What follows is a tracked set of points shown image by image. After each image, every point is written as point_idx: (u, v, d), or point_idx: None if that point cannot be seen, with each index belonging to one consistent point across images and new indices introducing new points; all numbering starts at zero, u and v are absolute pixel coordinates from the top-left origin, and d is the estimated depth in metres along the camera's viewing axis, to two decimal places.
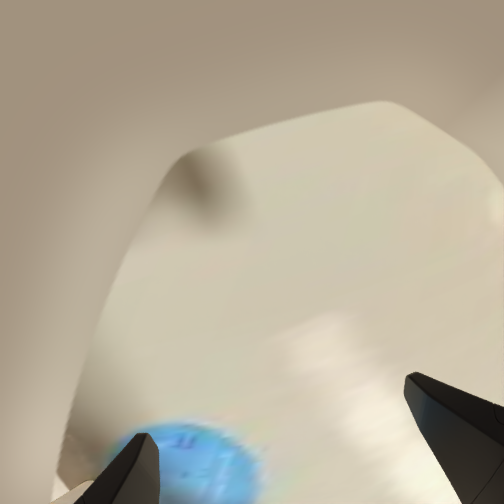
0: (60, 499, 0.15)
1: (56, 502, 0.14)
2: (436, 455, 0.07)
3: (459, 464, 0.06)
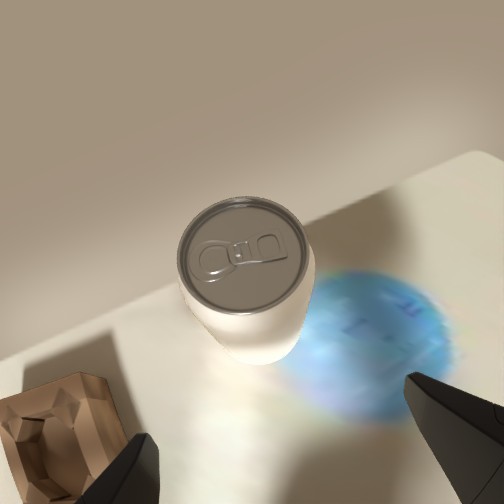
0: None
1: None
2: (436, 455, 0.07)
3: (459, 464, 0.06)
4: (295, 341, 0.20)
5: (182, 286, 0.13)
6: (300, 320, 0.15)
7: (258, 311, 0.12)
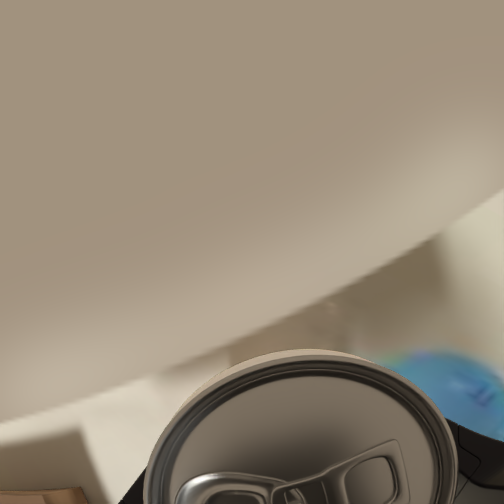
0: None
1: None
2: None
3: None
4: None
5: None
6: None
7: None
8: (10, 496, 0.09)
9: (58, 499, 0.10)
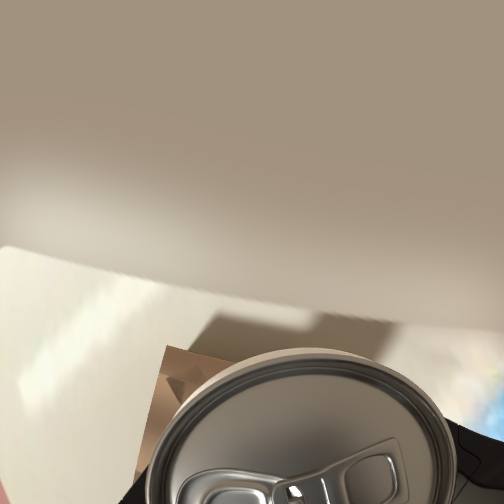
0: None
1: None
2: None
3: None
4: None
5: None
6: None
7: None
8: None
9: None
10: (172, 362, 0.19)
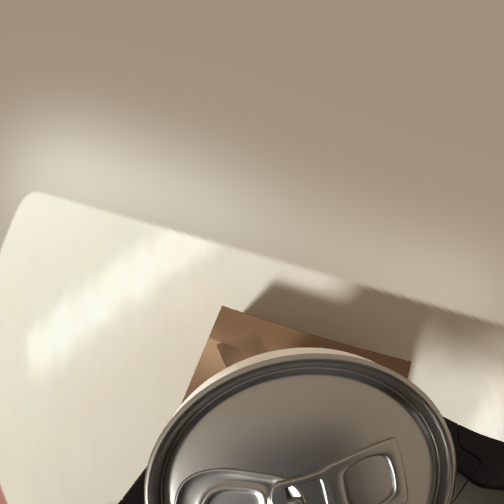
0: None
1: None
2: None
3: None
4: None
5: None
6: None
7: None
8: (358, 349, 0.16)
9: None
10: (227, 326, 0.17)
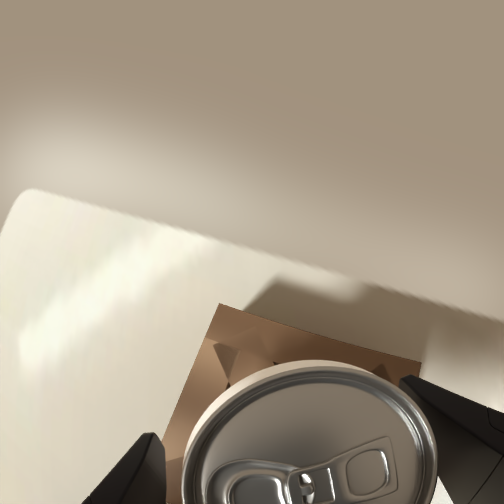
0: None
1: None
2: None
3: (452, 468, 0.06)
4: None
5: None
6: None
7: None
8: (366, 350, 0.14)
9: None
10: (224, 325, 0.16)
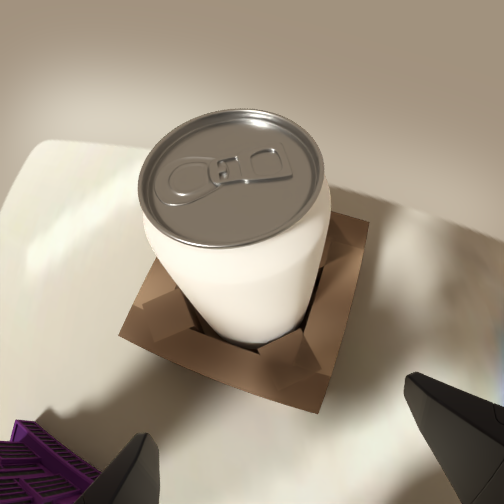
0: None
1: None
2: (436, 455, 0.07)
3: (459, 464, 0.06)
4: (299, 319, 0.16)
5: (144, 217, 0.09)
6: (308, 281, 0.11)
7: (244, 243, 0.08)
8: None
9: None
10: None
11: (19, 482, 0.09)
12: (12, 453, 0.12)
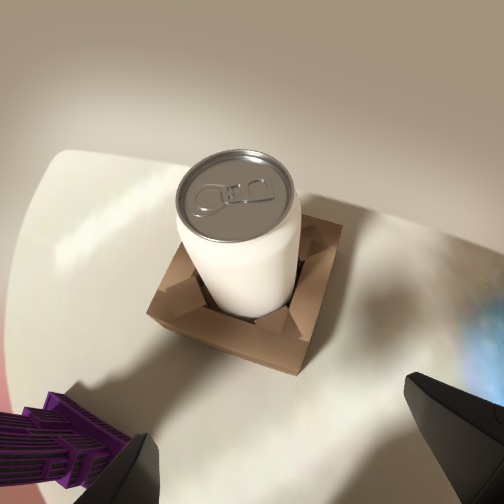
0: None
1: None
2: (436, 455, 0.07)
3: (459, 464, 0.06)
4: (286, 299, 0.21)
5: (179, 223, 0.15)
6: (287, 266, 0.17)
7: (244, 239, 0.13)
8: (301, 215, 0.24)
9: None
10: None
11: (56, 439, 0.15)
12: (48, 417, 0.17)
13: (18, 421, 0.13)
